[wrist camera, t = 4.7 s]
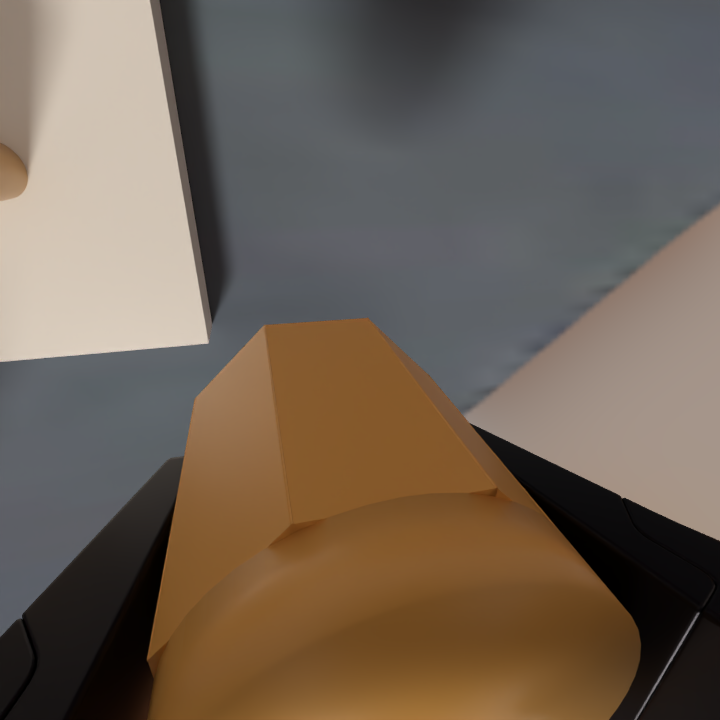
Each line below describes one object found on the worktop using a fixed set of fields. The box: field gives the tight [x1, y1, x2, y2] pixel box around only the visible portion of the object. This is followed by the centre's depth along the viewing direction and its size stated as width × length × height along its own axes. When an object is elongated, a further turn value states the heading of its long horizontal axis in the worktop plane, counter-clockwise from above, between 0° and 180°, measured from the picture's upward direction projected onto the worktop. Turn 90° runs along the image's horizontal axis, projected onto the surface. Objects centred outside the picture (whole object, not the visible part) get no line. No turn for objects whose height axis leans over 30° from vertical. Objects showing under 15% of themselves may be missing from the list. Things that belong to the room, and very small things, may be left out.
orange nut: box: [147, 318, 641, 720], centre depth 7 cm, size 5×5×6 cm
